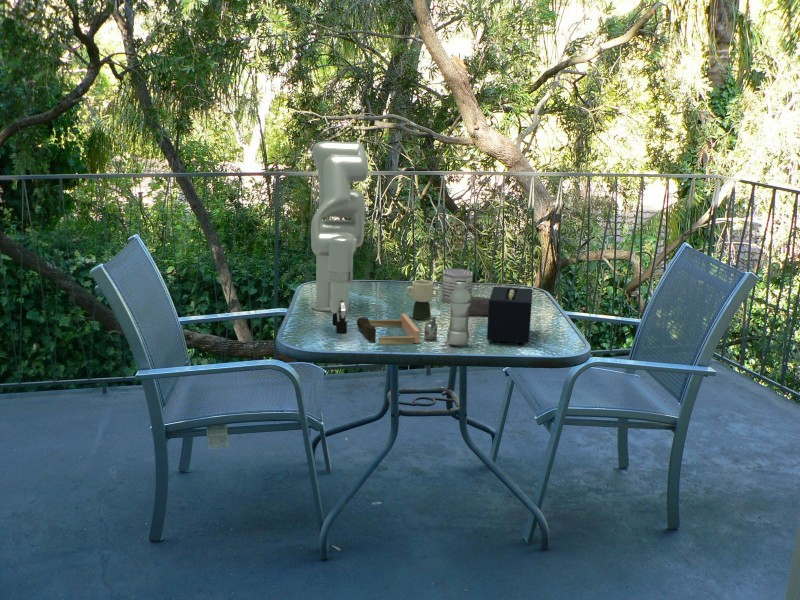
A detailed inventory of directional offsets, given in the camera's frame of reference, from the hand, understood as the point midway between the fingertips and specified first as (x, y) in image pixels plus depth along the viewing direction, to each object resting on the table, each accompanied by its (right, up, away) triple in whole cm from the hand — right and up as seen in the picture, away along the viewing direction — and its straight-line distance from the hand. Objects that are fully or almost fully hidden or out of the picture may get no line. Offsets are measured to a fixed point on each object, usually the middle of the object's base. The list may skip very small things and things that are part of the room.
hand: (339, 329), depth 263 cm
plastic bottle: (+37, -5, -6) cm, 38 cm away
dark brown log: (+9, -2, +2) cm, 10 cm away
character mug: (+26, +3, +25) cm, 37 cm away
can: (+40, +8, +53) cm, 67 cm away
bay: (+16, -2, +3) cm, 16 cm away
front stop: (+22, -2, +5) cm, 23 cm away
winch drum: (+29, -3, -1) cm, 29 cm away
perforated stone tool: (+47, +4, +33) cm, 58 cm away
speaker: (+54, -3, +5) cm, 54 cm away
